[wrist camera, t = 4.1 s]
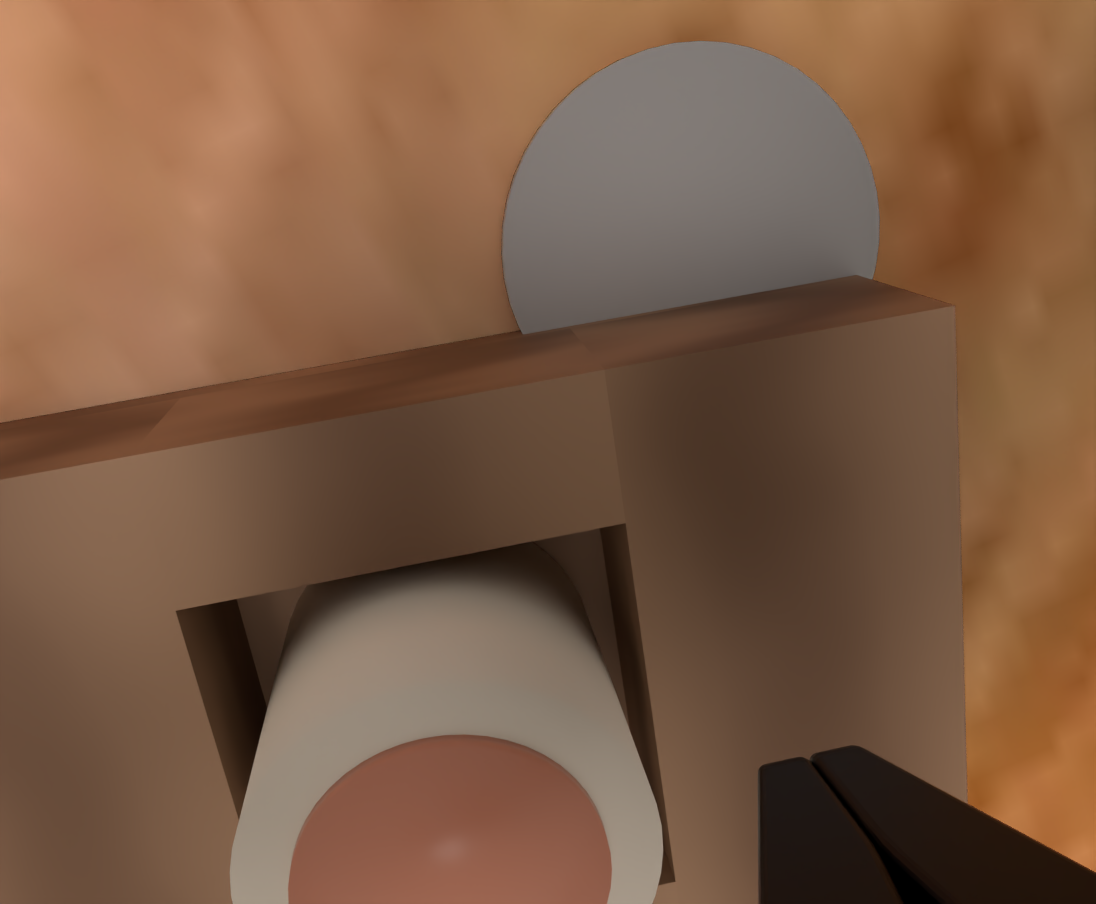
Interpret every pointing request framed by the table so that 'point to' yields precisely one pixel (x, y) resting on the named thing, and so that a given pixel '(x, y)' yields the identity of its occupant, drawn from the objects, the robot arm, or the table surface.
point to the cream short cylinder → (446, 747)
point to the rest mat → (685, 189)
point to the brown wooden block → (483, 524)
